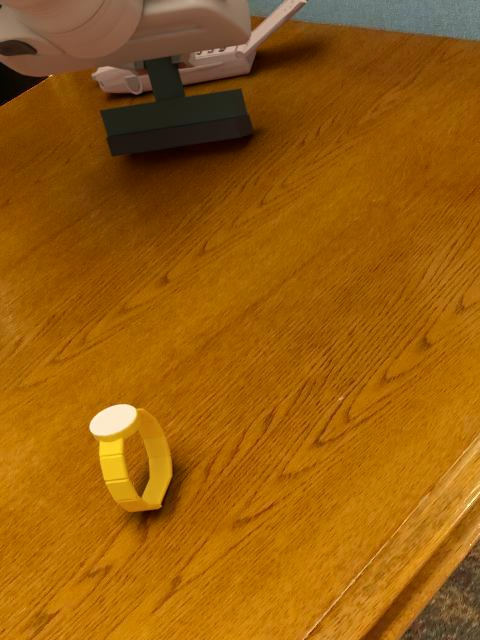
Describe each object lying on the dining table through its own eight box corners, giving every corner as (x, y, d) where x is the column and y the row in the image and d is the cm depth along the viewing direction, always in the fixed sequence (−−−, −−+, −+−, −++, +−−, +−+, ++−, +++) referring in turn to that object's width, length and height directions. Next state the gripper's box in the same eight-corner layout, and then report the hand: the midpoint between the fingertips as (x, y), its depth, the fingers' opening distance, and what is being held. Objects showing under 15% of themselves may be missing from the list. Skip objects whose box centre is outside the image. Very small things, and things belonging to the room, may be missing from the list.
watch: (167, 527, 59) (120, 455, 55) (123, 531, 59) (73, 461, 55) (190, 455, 63) (148, 383, 58) (148, 460, 63) (103, 389, 59)
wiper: (111, 156, 89) (64, 6, 84) (130, 151, 93) (86, 7, 87) (239, 137, 88) (200, -16, 82) (254, 133, 91) (217, -15, 86)
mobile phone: (306, 1, 95) (55, 45, 97) (325, 64, 99) (84, 105, 101) (313, -22, 99) (72, 21, 101) (330, 39, 103) (99, 79, 105)
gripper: (204, -78, 73) (274, 8, 87) (-53, -33, 76) (55, 43, 89) (215, 11, 74) (283, 82, 87) (-42, 53, 76) (64, 115, 90)
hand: (166, 63), depth 88 cm, fingers closed on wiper, 2 cm apart
